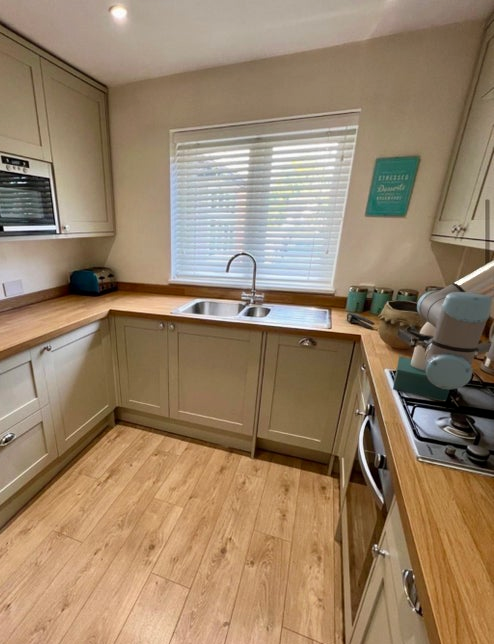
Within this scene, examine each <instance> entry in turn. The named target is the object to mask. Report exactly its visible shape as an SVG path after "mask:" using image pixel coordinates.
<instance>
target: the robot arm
mask: <svg viewBox="0 0 494 644" xmlns="http://www.w3.org/2000/svg"><path fill="white" fill-rule="evenodd" d="M493 301H494V260H492V261H490V262H488V263H486V264H485V265H483V266H481V267H479V268H478V269H476V270H474V271H472V272H471V273H469V274H467V275H465V276H464V277H462V278H460V279H459V280H457V281H455V282H453V283H451V284H448V285H447V286H445V287H444V288H442V289H437V290H436V289H435V290H430V291H428V292H425V293H424V294H422V295H421V296H420V297H419V299H418V301H417V302H416V303H417V310H418V313H419V314H420V315H421V317H422V318H423V319H424V320H425V321H427V322H429V323H430V324H432V325H433V326H434V327H435V328H436V330H435V334H434V336H431V335H423V334H421V333H418V332H415V331H414V330H415V325H414V324H412V325H411V327H407V329H406V330H404V329H399V331H398V335H397V337H398V338H399V339H401V340H402V341H404V342H405V343H407V344H409V346H410V347H411V348H410V349H415V347H417V345H418V346H422V347H423V348H424V349H425V373H426V375H427V377H428V379H429V381H430V382H431V383H432V384H434V385H435V386H437V387H439V388H443V389H450V390H456V389H460V388H463V387H464V386H466V385H468V383H469V382H470V381H471V379H472V376H473V366H472V364H473V362H474V359H477V357H478V356H480V355H483V354H486V353H489V352H490V349H491V346H492V344H493V342H491V341H489V340H487V341H483V340H482V339H481V338H482V335H483V332H484V329H485V327H486V324H487V321H488V320H489V318H490V316H491V310H492V305H493Z"/></svg>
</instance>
